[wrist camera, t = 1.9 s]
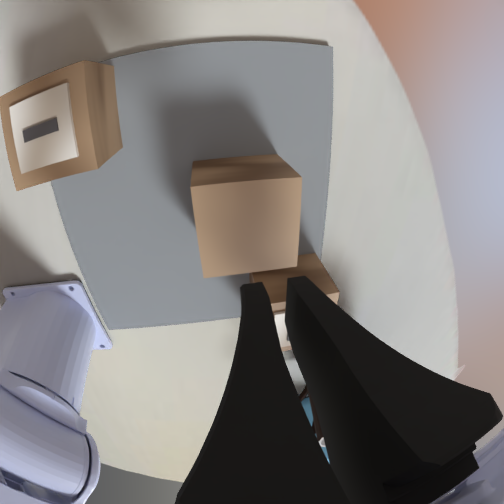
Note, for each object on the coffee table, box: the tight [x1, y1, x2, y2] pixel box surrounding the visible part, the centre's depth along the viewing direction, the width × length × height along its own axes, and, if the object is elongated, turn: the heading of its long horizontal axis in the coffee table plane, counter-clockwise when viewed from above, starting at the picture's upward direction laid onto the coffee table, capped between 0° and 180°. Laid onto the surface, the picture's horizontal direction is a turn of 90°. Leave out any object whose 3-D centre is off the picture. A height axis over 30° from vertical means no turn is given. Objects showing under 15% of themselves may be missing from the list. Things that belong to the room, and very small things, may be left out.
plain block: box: [190, 154, 302, 278], centre depth 15 cm, size 5×5×4 cm
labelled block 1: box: [0, 60, 123, 191], centre depth 10 cm, size 5×5×5 cm
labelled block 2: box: [249, 253, 340, 351], centre depth 20 cm, size 5×5×5 cm
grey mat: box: [51, 41, 333, 330], centre depth 17 cm, size 18×20×1 cm
